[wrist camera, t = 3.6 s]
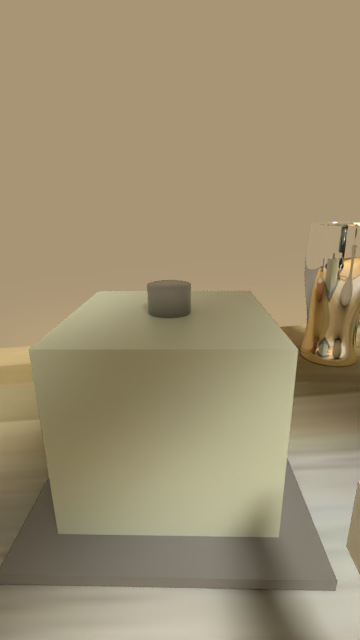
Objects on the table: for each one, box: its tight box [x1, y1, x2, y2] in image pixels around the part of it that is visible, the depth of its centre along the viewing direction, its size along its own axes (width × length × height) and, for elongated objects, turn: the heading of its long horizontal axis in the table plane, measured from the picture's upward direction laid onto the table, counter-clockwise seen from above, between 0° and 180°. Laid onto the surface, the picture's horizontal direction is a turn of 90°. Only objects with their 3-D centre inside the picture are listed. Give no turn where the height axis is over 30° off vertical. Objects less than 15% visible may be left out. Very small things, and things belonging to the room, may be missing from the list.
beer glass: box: [300, 222, 360, 367], centre depth 36 cm, size 7×7×15 cm
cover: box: [29, 280, 298, 537], centre depth 20 cm, size 11×11×12 cm
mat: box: [0, 459, 337, 591], centre depth 22 cm, size 15×15×1 cm
